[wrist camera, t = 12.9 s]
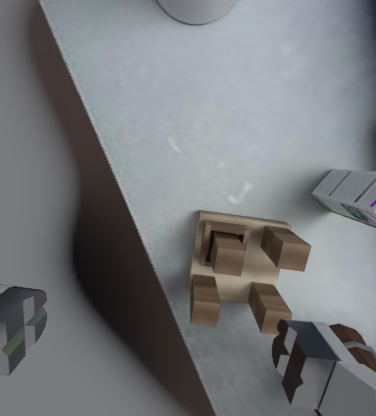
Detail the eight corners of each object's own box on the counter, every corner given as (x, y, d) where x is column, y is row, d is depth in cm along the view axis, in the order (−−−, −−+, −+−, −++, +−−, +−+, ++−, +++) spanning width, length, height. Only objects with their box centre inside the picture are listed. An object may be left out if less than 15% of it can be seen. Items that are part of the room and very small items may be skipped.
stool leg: (212, 229, 40) (218, 247, 32) (235, 232, 40) (246, 251, 32) (208, 250, 41) (213, 273, 33) (230, 253, 41) (240, 276, 33)
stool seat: (199, 210, 42) (203, 227, 32) (285, 222, 42) (315, 243, 32) (187, 287, 45) (186, 325, 35) (266, 298, 46) (288, 338, 36)
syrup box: (309, 193, 41) (372, 213, 27) (332, 167, 40) (411, 173, 26) (331, 212, 42) (404, 241, 28) (355, 186, 41) (444, 203, 27)
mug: (346, 314, 47) (418, 386, 32) (369, 355, 49) (446, 441, 34) (278, 348, 49) (316, 431, 34) (303, 387, 51) (349, 480, 36)
